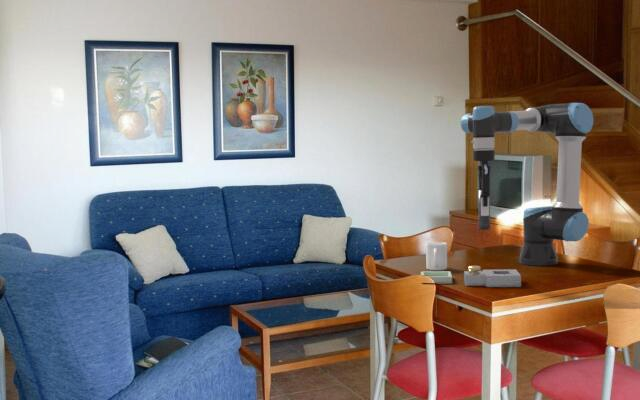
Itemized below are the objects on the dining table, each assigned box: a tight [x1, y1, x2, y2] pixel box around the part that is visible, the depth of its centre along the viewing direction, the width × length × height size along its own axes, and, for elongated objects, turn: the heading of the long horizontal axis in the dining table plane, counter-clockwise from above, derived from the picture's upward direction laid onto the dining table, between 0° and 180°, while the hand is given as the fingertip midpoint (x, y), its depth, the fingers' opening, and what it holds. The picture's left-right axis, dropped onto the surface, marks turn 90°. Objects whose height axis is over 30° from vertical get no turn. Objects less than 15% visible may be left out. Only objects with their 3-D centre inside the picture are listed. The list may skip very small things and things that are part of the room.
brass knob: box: [467, 265, 482, 274], centre depth 275 cm, size 4×4×5 cm
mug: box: [425, 241, 448, 271], centre depth 305 cm, size 12×8×10 cm
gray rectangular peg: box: [477, 189, 491, 231], centre depth 274 cm, size 4×4×14 cm
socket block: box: [463, 268, 522, 288], centre depth 275 cm, size 19×12×4 cm, turn 84°
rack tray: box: [420, 270, 453, 285], centre depth 283 cm, size 11×11×2 cm
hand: (484, 214), depth 274 cm, fingers closed on gray rectangular peg, 4 cm apart
